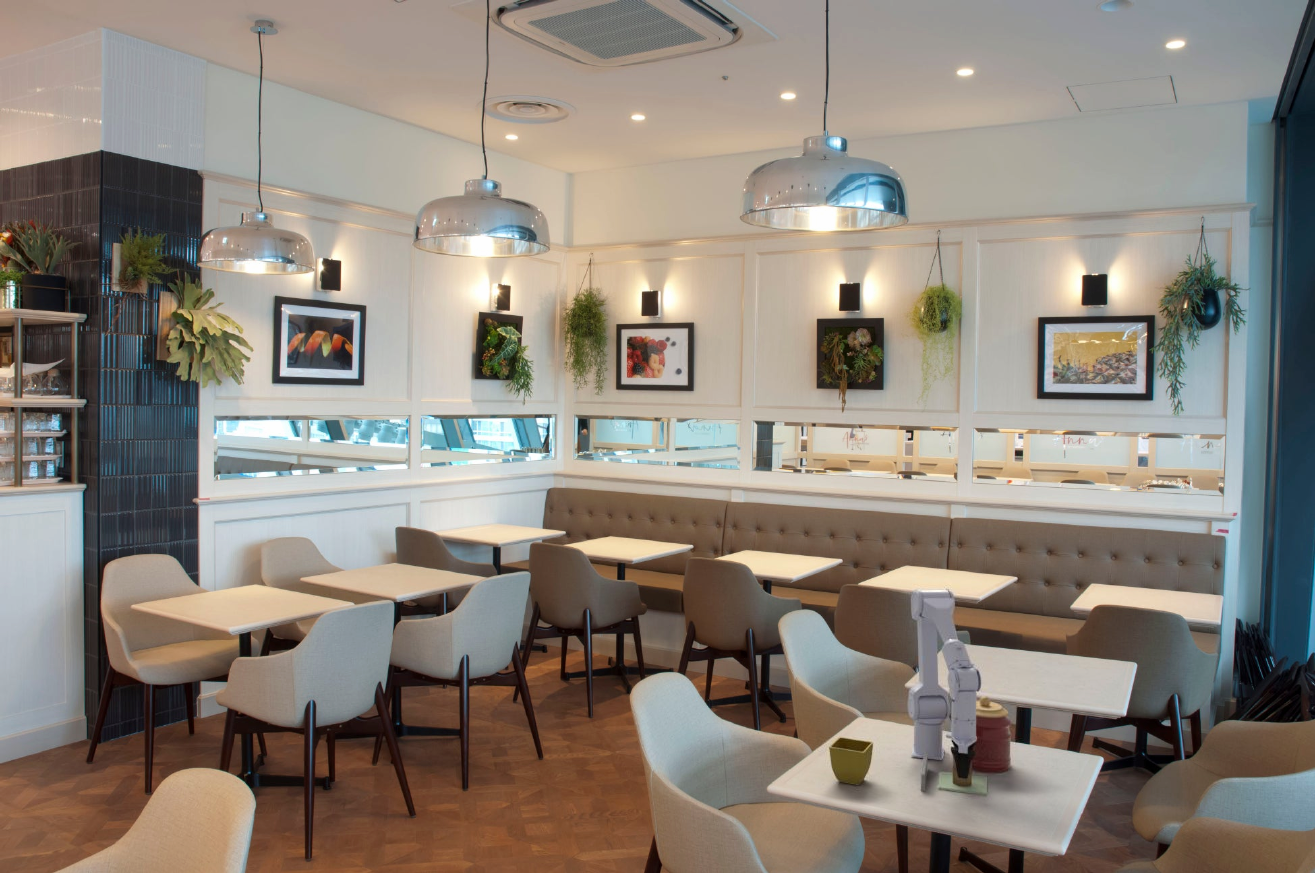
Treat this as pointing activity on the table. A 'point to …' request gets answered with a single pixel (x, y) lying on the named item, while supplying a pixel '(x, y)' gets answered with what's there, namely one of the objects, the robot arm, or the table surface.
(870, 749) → the flower pot
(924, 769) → the grey wall
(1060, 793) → the table surface
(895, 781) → the table surface
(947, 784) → the green mat
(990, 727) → the canister
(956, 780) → the walnut cylinder
